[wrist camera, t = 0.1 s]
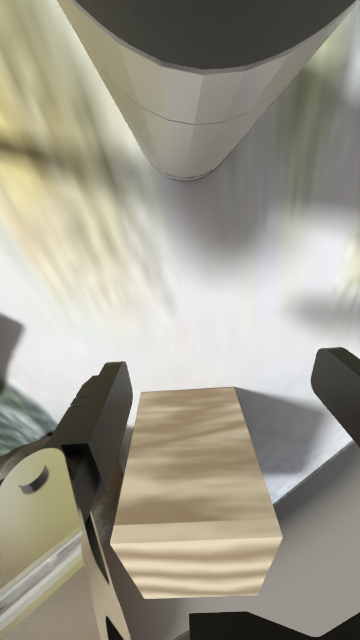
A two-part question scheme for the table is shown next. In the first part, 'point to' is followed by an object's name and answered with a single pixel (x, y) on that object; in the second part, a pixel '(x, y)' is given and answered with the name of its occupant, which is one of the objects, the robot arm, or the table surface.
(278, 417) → the table surface
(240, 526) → the box
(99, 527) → the gourd
